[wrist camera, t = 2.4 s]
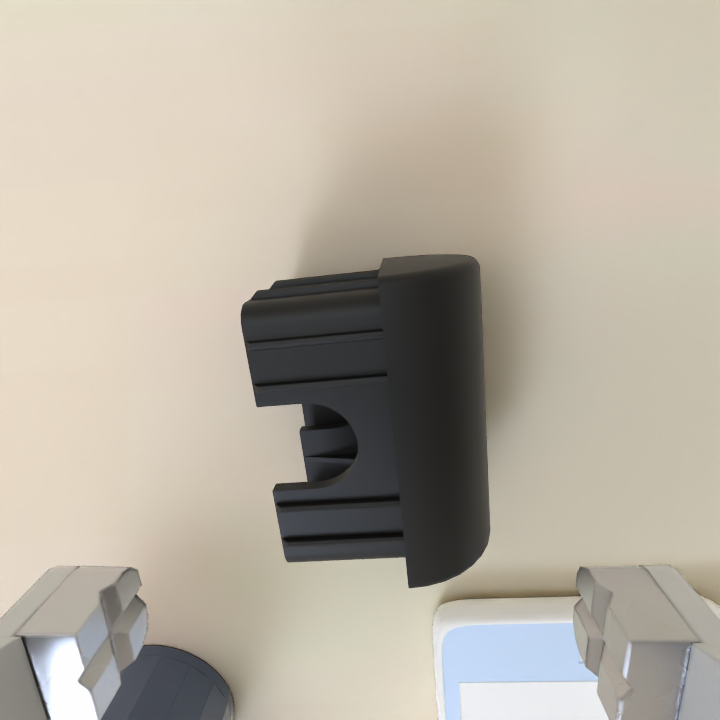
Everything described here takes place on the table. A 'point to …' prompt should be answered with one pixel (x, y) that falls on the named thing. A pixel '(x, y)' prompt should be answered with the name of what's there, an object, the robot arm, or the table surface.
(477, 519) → the end cap
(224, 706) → the pen cup
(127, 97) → the table surface
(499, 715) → the calculator
